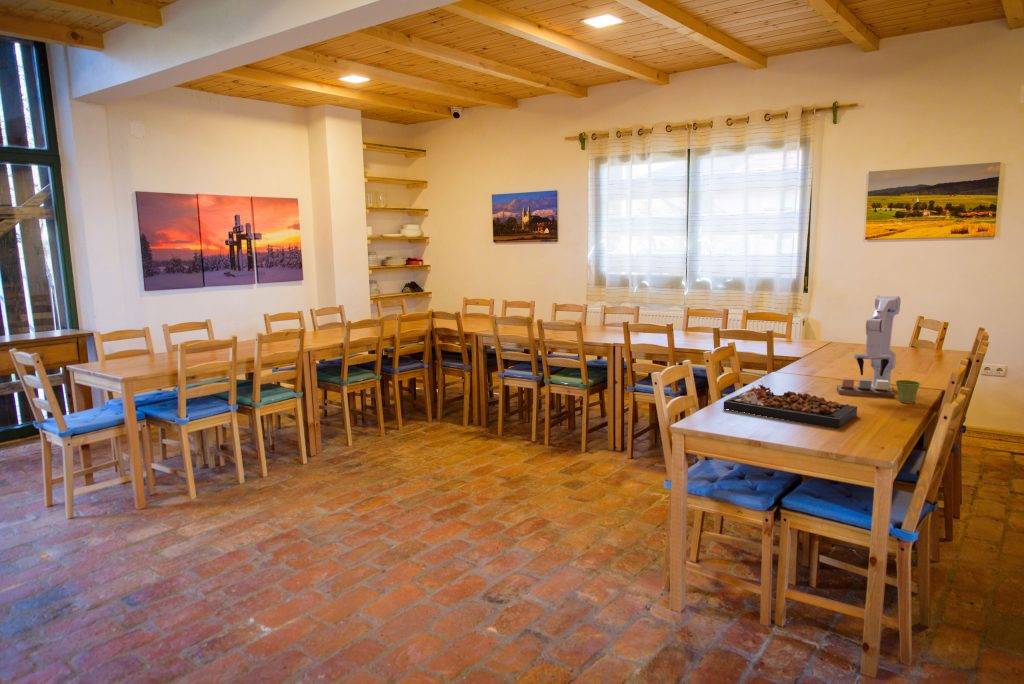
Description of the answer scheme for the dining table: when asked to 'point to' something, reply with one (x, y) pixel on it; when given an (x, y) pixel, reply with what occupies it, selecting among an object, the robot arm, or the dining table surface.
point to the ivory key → (882, 384)
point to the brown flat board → (865, 391)
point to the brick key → (847, 382)
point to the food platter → (792, 407)
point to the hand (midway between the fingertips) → (871, 375)
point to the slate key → (864, 383)
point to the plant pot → (907, 390)
